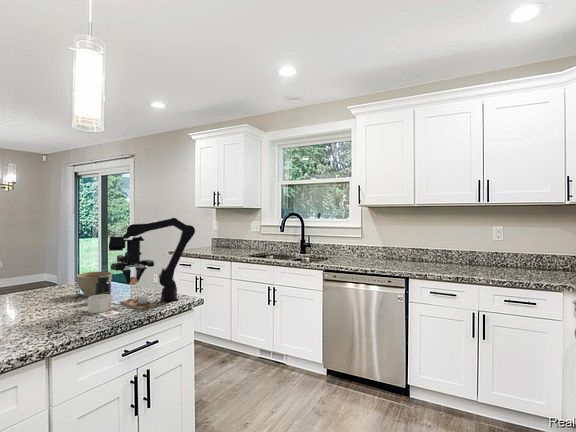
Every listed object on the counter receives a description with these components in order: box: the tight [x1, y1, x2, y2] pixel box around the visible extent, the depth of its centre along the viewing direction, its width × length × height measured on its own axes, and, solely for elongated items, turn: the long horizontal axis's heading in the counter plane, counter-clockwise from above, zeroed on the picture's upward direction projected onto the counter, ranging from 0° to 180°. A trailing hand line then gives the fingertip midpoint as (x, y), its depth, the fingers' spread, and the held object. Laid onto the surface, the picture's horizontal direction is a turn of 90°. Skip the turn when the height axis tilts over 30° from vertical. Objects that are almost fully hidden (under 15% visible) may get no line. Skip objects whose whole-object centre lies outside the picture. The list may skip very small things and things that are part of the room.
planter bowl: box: [76, 271, 113, 298], centre depth 173 cm, size 16×16×11 cm
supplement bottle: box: [95, 276, 112, 296], centre depth 161 cm, size 7×7×12 cm
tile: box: [98, 310, 120, 318], centre depth 140 cm, size 6×6×1 cm
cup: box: [87, 294, 112, 314], centre depth 145 cm, size 8×8×6 cm
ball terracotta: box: [128, 276, 138, 286], centre depth 157 cm, size 4×4×4 cm
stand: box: [119, 297, 158, 311], centre depth 154 cm, size 8×18×2 cm, turn 53°
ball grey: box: [138, 295, 149, 305], centre depth 152 cm, size 4×4×4 cm
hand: (132, 282), depth 157 cm, fingers closed on ball terracotta, 4 cm apart
